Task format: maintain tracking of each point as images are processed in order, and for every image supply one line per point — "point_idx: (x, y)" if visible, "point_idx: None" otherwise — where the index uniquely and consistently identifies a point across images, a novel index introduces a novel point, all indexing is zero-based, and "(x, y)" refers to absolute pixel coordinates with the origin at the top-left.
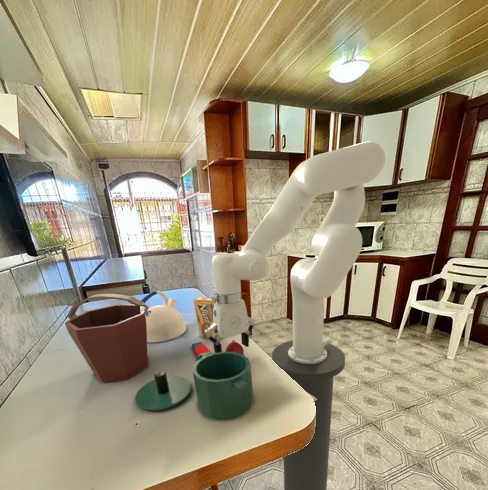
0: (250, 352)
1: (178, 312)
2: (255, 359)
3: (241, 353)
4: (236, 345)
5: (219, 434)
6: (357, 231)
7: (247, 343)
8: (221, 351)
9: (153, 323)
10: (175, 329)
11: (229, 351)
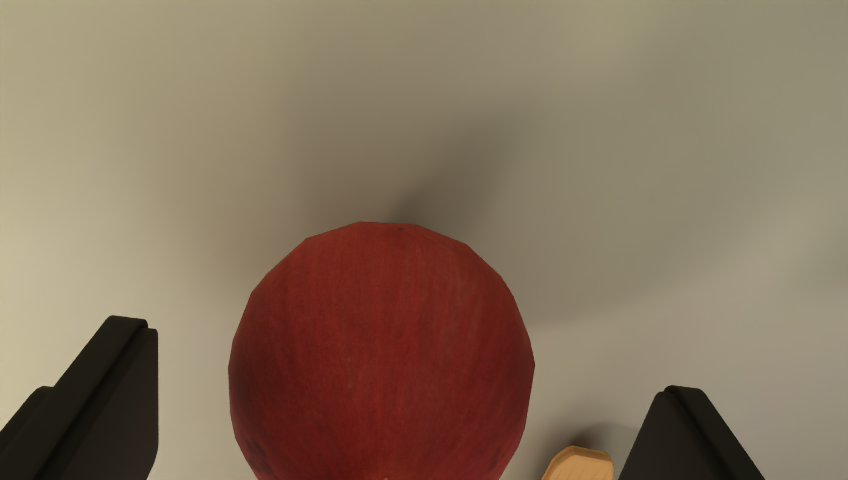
0: (73, 319)
1: None
2: (128, 138)
3: (352, 249)
4: (383, 418)
5: None
6: None
7: (107, 360)
8: (711, 439)
9: None
10: None
11: (524, 389)
